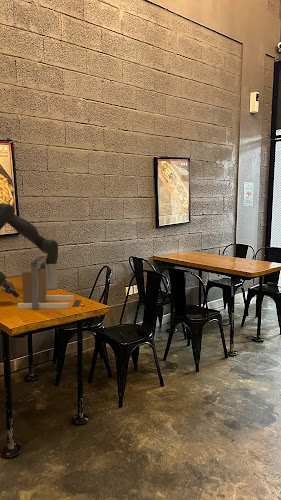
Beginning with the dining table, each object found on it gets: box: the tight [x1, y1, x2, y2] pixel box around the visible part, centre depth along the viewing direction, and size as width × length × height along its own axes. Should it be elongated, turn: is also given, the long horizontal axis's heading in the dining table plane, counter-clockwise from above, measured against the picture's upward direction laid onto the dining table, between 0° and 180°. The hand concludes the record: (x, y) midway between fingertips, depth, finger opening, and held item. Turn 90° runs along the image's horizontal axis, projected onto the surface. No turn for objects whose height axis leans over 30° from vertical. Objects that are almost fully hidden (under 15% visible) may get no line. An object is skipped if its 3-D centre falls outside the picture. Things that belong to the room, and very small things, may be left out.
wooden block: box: [21, 267, 47, 303], centre depth 222 cm, size 10×10×20 cm
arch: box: [30, 255, 48, 310], centre depth 222 cm, size 24×3×26 cm, turn 2°
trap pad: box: [71, 299, 82, 308], centre depth 224 cm, size 14×4×1 cm, turn 2°
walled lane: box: [17, 294, 74, 309], centre depth 224 cm, size 20×28×2 cm
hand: (18, 296), depth 223 cm, fingers closed
